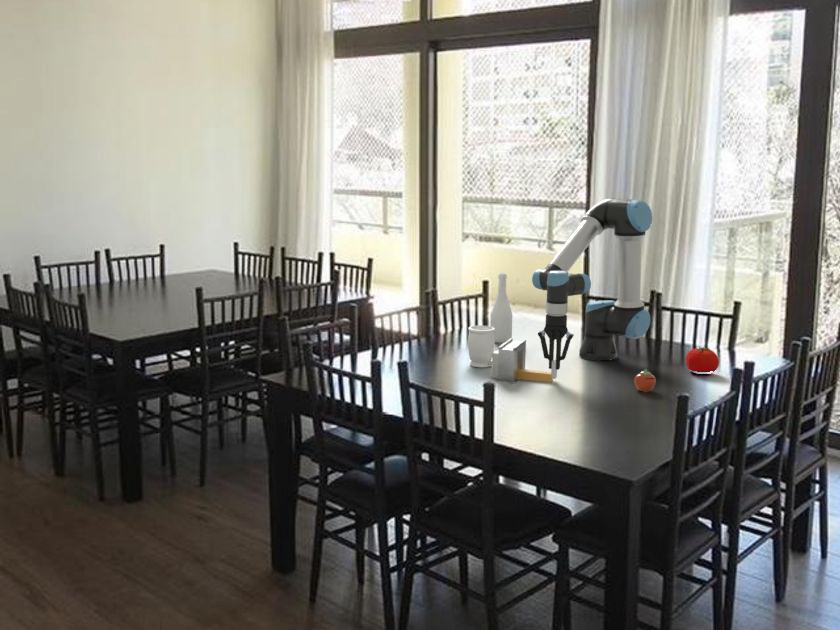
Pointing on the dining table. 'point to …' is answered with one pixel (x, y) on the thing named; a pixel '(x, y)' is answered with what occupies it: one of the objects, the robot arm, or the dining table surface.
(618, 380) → the dining table surface
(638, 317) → the robot arm
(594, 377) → the dining table surface
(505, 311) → the wine bottle
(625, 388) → the dining table surface
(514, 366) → the box
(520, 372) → the plug
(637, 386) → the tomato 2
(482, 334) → the jar
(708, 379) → the dining table surface
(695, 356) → the tomato
